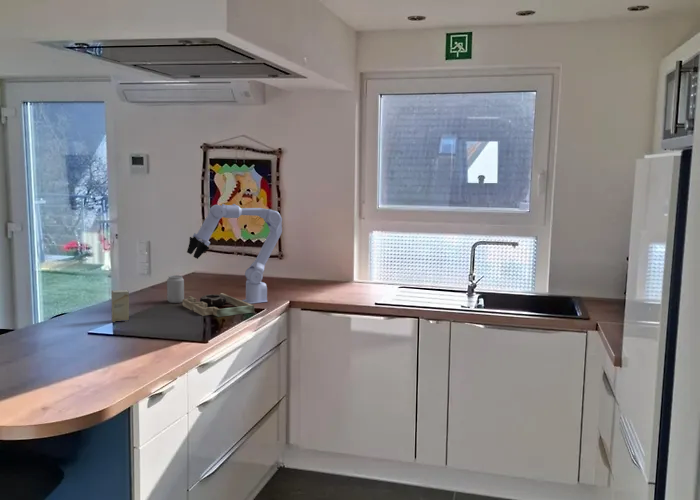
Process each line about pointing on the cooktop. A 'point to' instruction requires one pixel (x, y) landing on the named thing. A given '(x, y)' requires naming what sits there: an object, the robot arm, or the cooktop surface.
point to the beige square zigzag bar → (203, 310)
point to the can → (175, 289)
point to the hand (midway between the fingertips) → (192, 255)
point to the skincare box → (120, 305)
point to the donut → (213, 300)
